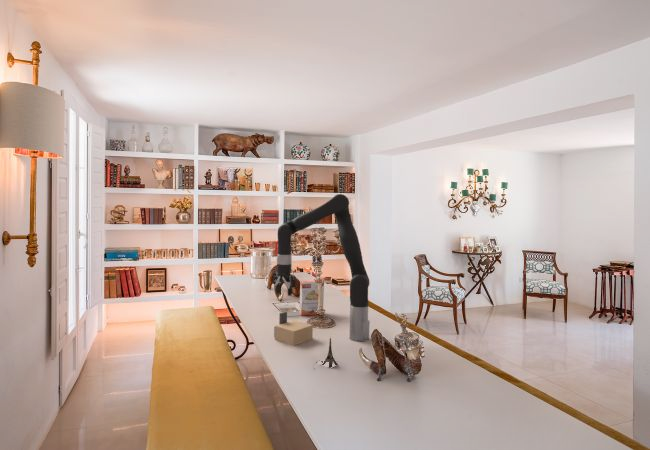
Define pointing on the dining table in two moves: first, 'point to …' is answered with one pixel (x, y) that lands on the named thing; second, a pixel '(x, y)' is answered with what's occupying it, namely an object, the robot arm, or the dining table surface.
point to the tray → (282, 319)
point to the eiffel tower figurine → (329, 356)
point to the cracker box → (309, 297)
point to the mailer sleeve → (293, 332)
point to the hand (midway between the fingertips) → (283, 294)
